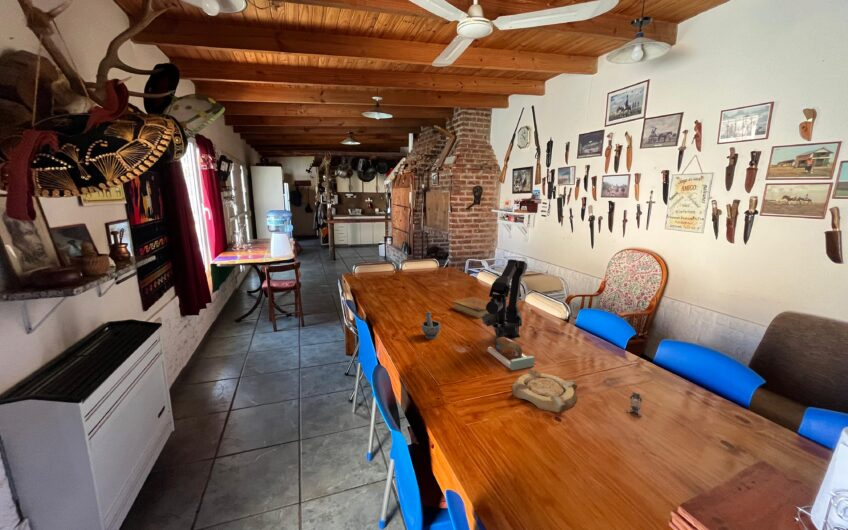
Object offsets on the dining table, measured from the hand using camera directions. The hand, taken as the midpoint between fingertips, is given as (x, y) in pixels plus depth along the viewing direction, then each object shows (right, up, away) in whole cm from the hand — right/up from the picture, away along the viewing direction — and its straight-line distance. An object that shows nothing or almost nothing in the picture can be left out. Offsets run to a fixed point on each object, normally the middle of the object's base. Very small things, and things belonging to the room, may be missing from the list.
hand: (498, 339), depth 163 cm
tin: (+3, -7, -7) cm, 10 cm away
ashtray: (+9, -13, -35) cm, 39 cm away
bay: (+3, -6, -7) cm, 10 cm away
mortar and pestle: (-32, -2, +17) cm, 36 cm away
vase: (+36, -14, -46) cm, 60 cm away
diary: (-2, +5, +57) cm, 57 cm away
